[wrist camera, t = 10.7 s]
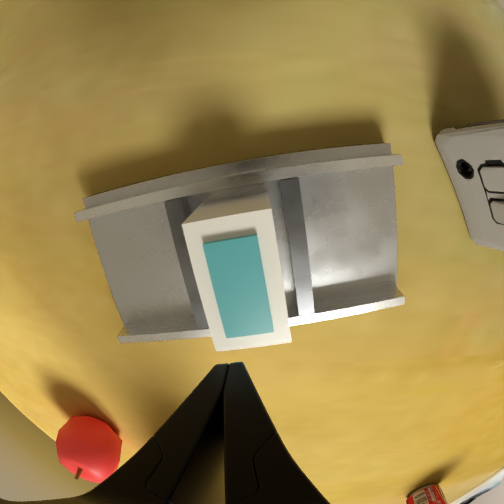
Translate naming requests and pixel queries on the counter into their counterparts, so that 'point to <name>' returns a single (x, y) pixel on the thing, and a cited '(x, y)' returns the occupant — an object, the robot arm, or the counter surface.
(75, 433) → the apple
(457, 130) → the electrical switch
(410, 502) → the soda can
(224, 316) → the module
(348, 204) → the grey tray
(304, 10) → the counter surface
